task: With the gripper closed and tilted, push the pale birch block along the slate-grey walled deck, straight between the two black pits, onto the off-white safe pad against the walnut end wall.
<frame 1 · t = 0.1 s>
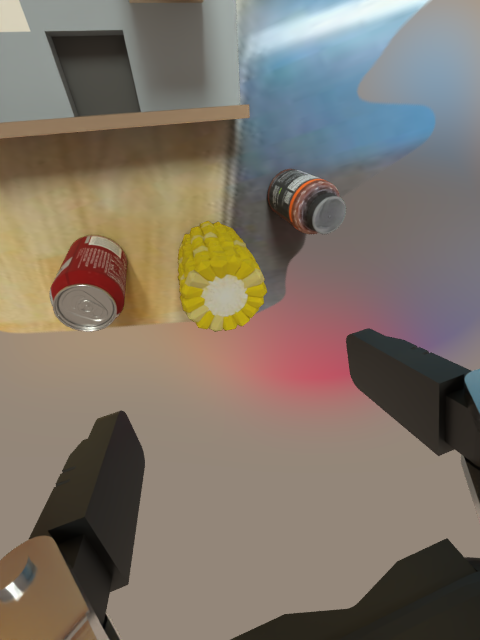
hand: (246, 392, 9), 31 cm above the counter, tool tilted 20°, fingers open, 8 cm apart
supplement bottle: (285, 191, 38), on the counter
soda can: (99, 257, 36), on the counter
food: (206, 249, 39), on the counter
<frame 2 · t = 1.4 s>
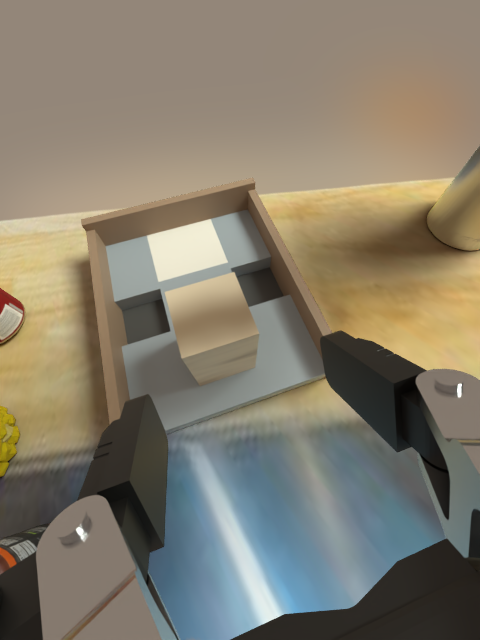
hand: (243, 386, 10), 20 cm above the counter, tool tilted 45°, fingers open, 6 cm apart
supplement bottle: (49, 561, 24), on the counter
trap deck: (205, 308, 35), on the counter
soda can: (2, 324, 34), on the counter
birch block: (219, 350, 29), point 2 cm above the counter, touching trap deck
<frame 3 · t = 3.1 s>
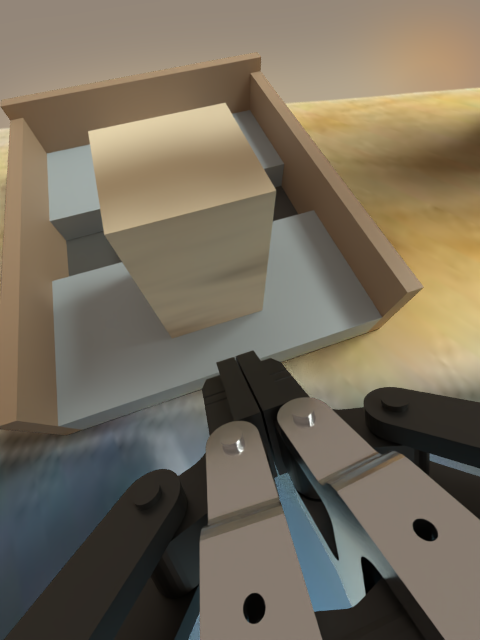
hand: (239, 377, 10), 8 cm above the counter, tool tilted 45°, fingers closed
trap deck: (187, 238, 24), on the counter
birch block: (205, 286, 19), point 2 cm above the counter, touching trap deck
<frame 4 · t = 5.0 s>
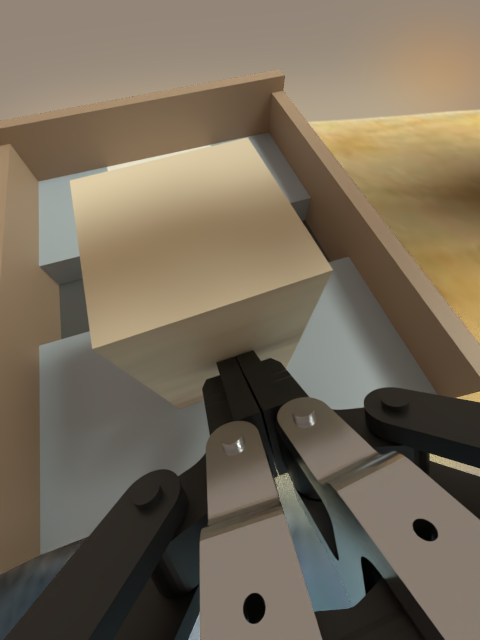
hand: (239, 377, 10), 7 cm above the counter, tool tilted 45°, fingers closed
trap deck: (199, 282, 21), on the counter
birch block: (216, 339, 16), point 3 cm above the counter, touching gripper
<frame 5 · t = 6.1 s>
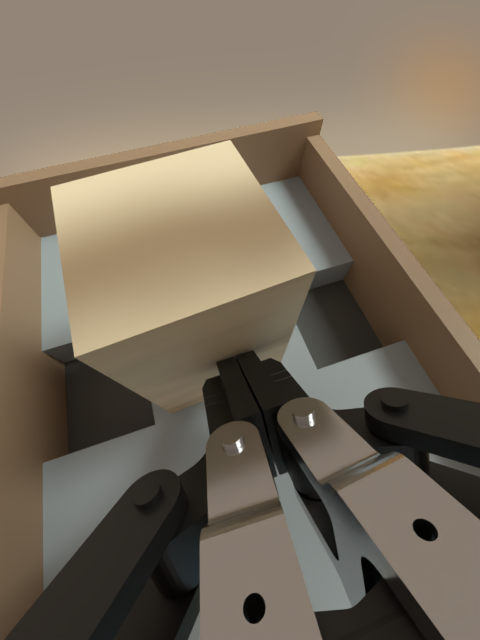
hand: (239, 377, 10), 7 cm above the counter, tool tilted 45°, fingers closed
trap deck: (225, 359, 18), on the counter
birch block: (208, 342, 16), point 3 cm above the counter, touching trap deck
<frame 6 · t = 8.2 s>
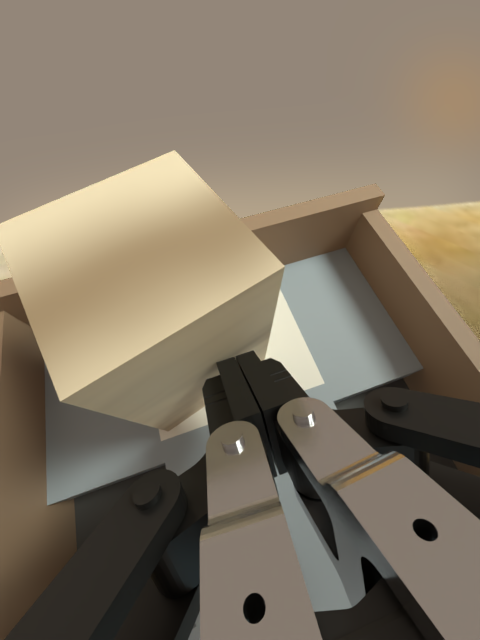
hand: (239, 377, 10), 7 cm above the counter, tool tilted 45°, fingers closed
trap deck: (270, 490, 15), on the counter
birch block: (190, 352, 16), point 2 cm above the counter, touching gripper, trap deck
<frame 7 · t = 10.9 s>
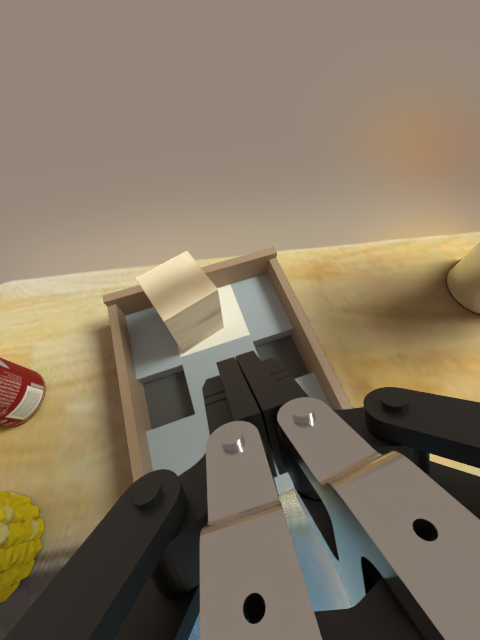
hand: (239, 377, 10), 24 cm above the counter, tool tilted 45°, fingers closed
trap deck: (226, 380, 34), on the counter
soda can: (22, 398, 34), on the counter
birch block: (191, 322, 35), point 2 cm above the counter, touching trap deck
food: (6, 537, 28), on the counter
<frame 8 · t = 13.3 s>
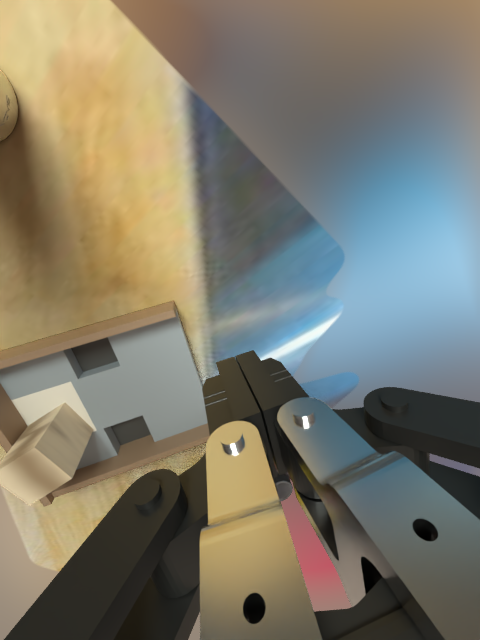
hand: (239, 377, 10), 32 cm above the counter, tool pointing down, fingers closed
supplement bottle: (259, 440, 52), on the counter
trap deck: (115, 389, 43), on the counter
birch block: (62, 427, 40), point 2 cm above the counter, touching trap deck
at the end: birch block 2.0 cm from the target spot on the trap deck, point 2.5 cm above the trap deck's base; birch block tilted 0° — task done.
